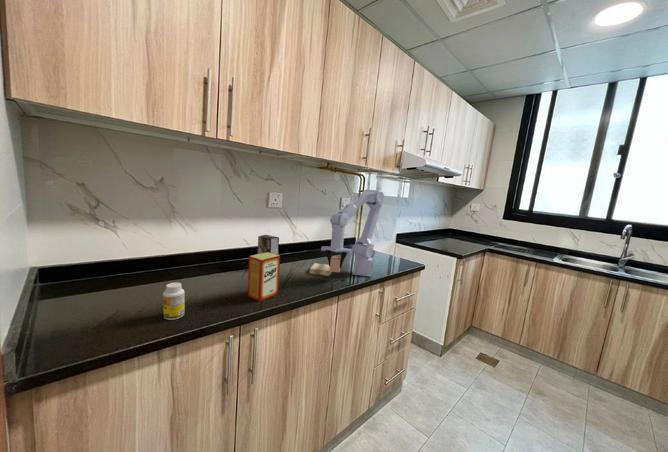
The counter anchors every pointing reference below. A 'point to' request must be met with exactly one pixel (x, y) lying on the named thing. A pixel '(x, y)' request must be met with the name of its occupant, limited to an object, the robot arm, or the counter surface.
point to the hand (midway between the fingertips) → (335, 266)
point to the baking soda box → (263, 276)
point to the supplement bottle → (173, 301)
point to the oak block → (320, 269)
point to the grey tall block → (268, 244)
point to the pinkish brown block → (335, 264)
